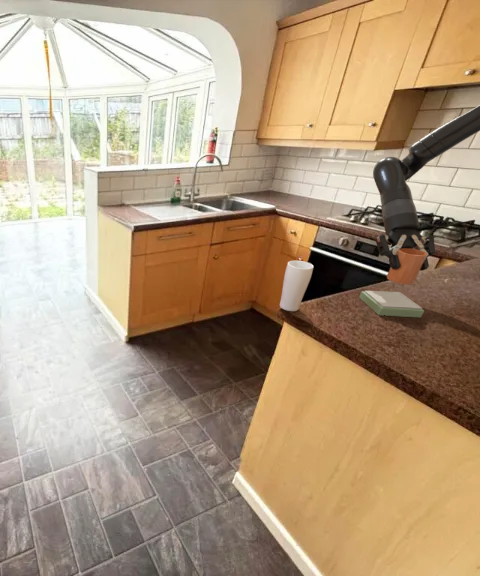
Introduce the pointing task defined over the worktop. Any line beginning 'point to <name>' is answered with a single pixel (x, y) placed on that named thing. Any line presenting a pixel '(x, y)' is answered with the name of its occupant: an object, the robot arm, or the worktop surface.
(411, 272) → the cup
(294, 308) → the drinking glass
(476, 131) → the robot arm
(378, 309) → the scale
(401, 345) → the worktop surface
